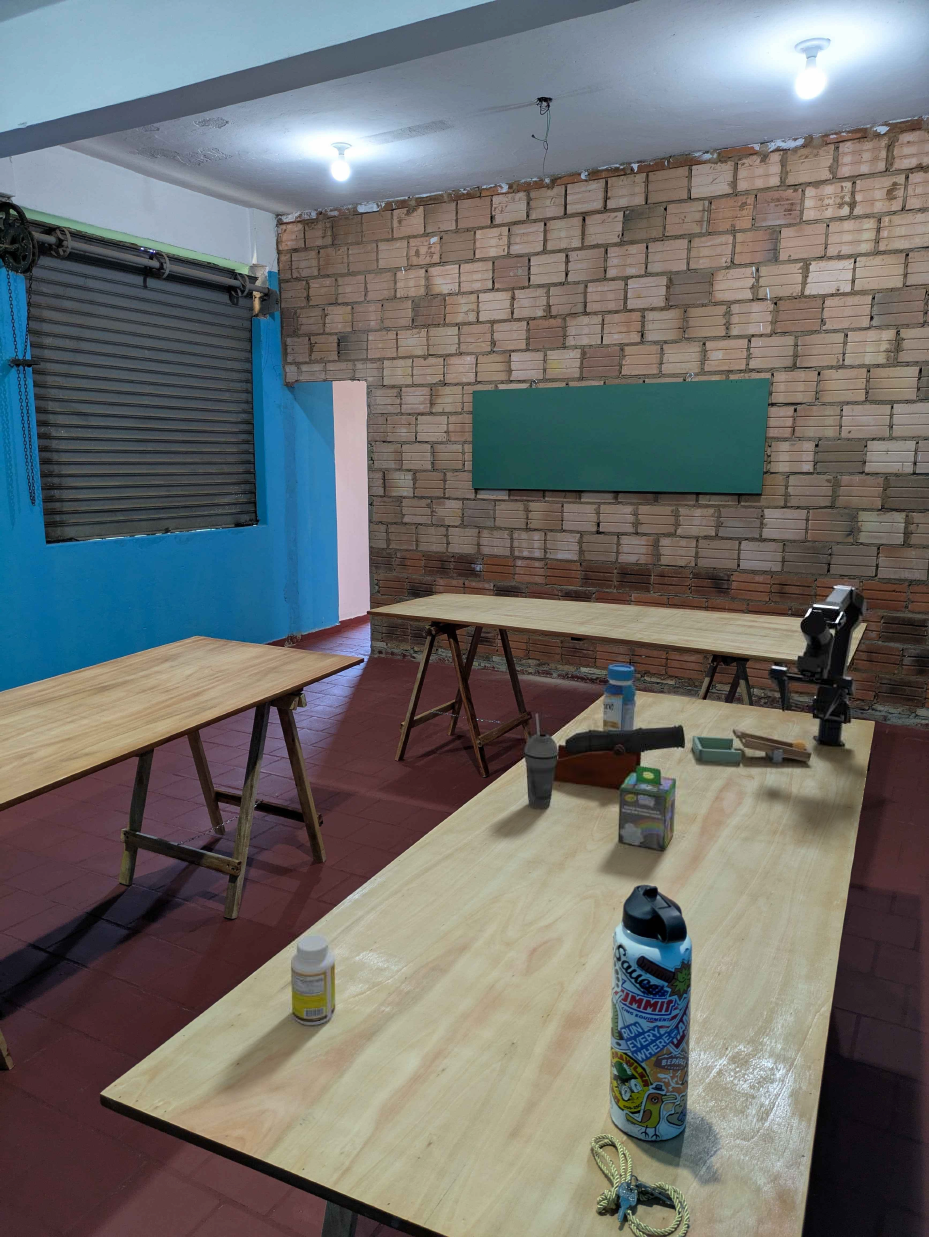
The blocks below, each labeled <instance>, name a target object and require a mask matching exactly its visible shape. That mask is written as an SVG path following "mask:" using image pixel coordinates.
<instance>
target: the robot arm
mask: <svg viewBox="0 0 929 1237" xmlns="http://www.w3.org/2000/svg"><path fill="white" fill-rule="evenodd" d="M867 605H868V604H867V601H866V598H865V596H864V595H862V594H860V593H859V592H858V591H857V589H856V587H854V586H850V585H840V584H838V585H834V586H833V589H832V591H831V593H830V594H829V596H828V597H827V598H826V599H825V600H824V601H818V602H816V603H814V604H813V605H812V607H810V608H809V609H808V611H807V612H806V614H805V616H804V618H803V619H802V620H801V621H800V623H799V624H800V625H799V626H800V627H799V628H800V631H801V633H802V635H803V637H804V640H805V642H806V646H805V650H804V652H803V654H802V655H797V660H796V666H795V670H797V672H798V673H791V672H790V671H789V668H788V667H784V666H783V667H782V666H777V665H772V666H771V667H770V668H769V669H768V673H767V677H768V678H769V681H770V682H771V684H773V685H775V687H776V688H777V689H778V690H779V694H780V704H781V710H782V712H783V713H785V712H786V709H787V704H788V700H789V693H790V686H789V684H790V683H791V682H792V683H798V684H799V683H800V684H806V685H811V686H812V685H813V686H819V687H818V688H817V693H816V695H815V696H814V697H813V699H812V700H813V701H812V719H814V720H815V719H817V720H819V721H818V729H817V735H813V736H812V738H813V739H814V740H815V741H816V742H817V744H819V745H822V746H837V747H838V746H841V747H845V746H846V743H845V742H844V741H843V740H842V732H843V724H844V725H848V724H851V723H852V716H853V715H852V706H851V705H850V701H849V697H855V694H856V690H857V689H856V687H857V686H856V683H855V680H854V679H853V678H852V677H851V676H846V674H847V671H848V670H847V669H848V663H849V656H850V652H851V646H852V640H853V635H854V631H855V630H856V629H857V628H858V627H859V626H861V624H862V621H863V618H864V617H866V613H867ZM831 630H833V631H834V633H832V632H831Z"/></svg>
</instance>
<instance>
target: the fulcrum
mask: <svg viewBox="0 0 929 1237" xmlns="http://www.w3.org/2000/svg"><path fill="white" fill-rule="evenodd" d="M782 752H783V750H780V749H773V754H771V753H766V752H764V753H765V754H766V755H767V756H768V758H769V759H770V761H771V763H772V764H773V765H782V762H783V760H782V759H783V756H782Z"/></svg>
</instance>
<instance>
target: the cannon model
mask: <svg viewBox="0 0 929 1237" xmlns="http://www.w3.org/2000/svg"><path fill="white" fill-rule="evenodd" d="M685 738H686V737H685V730H684V727H683V725H681V724H678V725H677V726H676V725H673V726H667V727H663V726H662V727H648V728H642V727H637V728H633V730H608V731H603V730H600V729H599V730H598V729H588V730H587V731H586V730H585V731H581V732H576V733H574V734H573V735H571V736H570V737H568V738H566V739H565V742H564V744H558V745H557V749H558V757H557V762H556V765H555V772H554V780H553V782H558V783H559V782H560V783H565V784H572V785H579V786H586V787H592V788H593V787H594V788H602V789H608V790H609V789H610V790H615V791H616V790H617V791H620V787H621V786H622V784H623V783H624V781H625V780H626V778H627V777H628V776H629V775H630V774H631V773H636V767H637V766H641V764H642V763H641V762H642V753H645V752H647V751H654V750H655V751H656V750H665V749H677V750H678V749H680V748H681V749H685V748H686V739H685Z"/></svg>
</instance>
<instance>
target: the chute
mask: <svg viewBox="0 0 929 1237" xmlns="http://www.w3.org/2000/svg"><path fill="white" fill-rule="evenodd" d="M732 734H733V735H734V737H735V739H738V740H739V742H740V744H741V745H742V747H743V748H744V749H749V750H753V751H757V752H762V753H765V752H766V753H771V754H773V749H780V750H783V752H782V757H785V758H790V759H794V760H799V761H802V762H808V763H810V761H811V758H812V757H811V756H812V752H811V750H810V749H809V748H808V747H807V746H806V748H805V750H804V751H803V750H799V749H794V748H793V743H794V742H792V741H787V740H782V739H779V738H778V739H777V738H774V737H769V736H764V735H760V734H754V733H750V732H746V730H742V729H738V728H733V729H732ZM766 753H765V754H766Z"/></svg>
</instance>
